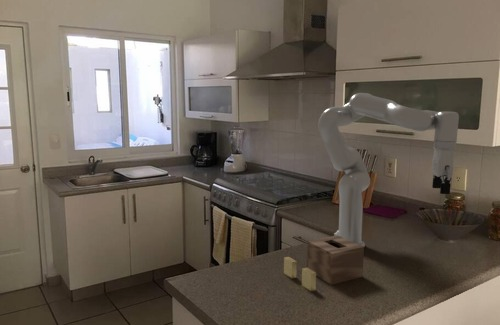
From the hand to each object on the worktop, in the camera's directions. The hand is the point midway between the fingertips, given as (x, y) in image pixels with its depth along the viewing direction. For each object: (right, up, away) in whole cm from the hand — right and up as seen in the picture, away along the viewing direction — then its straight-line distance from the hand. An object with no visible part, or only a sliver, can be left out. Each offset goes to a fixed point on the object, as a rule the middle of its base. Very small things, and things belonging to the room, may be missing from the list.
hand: (440, 190), depth 156 cm
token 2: (-52, -31, -17) cm, 63 cm away
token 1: (-57, -30, -8) cm, 65 cm away
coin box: (-41, -29, -6) cm, 51 cm away
